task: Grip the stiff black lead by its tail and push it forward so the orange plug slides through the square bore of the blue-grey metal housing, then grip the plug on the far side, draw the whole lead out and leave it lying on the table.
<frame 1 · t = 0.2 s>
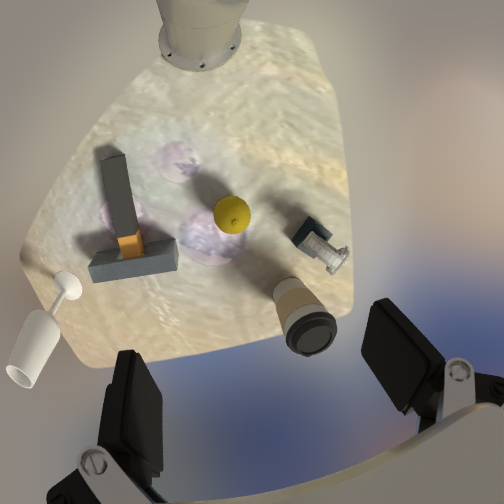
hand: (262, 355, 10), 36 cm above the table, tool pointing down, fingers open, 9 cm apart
watch: (308, 234, 50), on the table
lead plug: (124, 205, 41), on the table
housing: (136, 253, 45), on the table
coffee cup: (288, 291, 55), on the table
champagne flute: (68, 285, 44), on the table
lemon: (228, 207, 45), on the table
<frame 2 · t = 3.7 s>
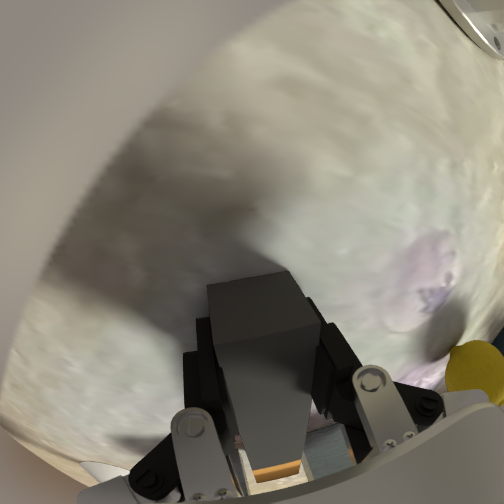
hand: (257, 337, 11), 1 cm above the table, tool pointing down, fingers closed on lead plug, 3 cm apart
watch: (493, 345, 23), on the table
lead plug: (262, 397, 14), on the table, touching gripper
housing: (269, 449, 18), on the table
champagne flute: (110, 471, 18), on the table
lemon: (450, 346, 18), on the table
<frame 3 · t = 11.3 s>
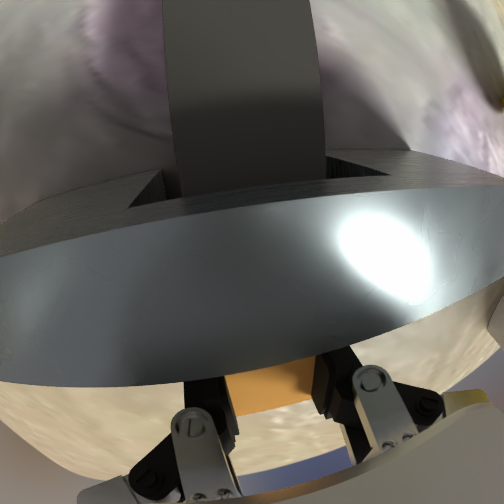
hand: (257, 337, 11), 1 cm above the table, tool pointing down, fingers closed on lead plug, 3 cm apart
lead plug: (236, 173, 9), on the table, touching gripper
housing: (240, 201, 9), on the table
coffee cup: (503, 305, 19), on the table
lemon: (500, 101, 9), on the table
when the fingers open (1 cm above the table, at t = 14.8 s): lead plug stays where it is, on the table.
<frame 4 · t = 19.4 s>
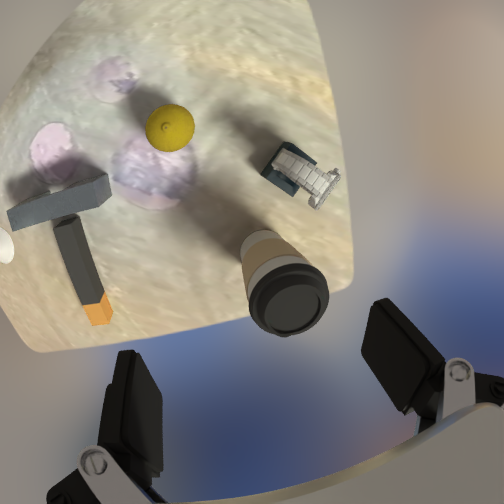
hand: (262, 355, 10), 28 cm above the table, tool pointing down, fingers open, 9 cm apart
watch: (284, 166, 36), on the table
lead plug: (87, 269, 36), on the table
housing: (64, 196, 31), on the table
coffee cup: (263, 251, 40), on the table
champagne flute: (1, 245, 30), on the table
lemon: (173, 128, 31), on the table
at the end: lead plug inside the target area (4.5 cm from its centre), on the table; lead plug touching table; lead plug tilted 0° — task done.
